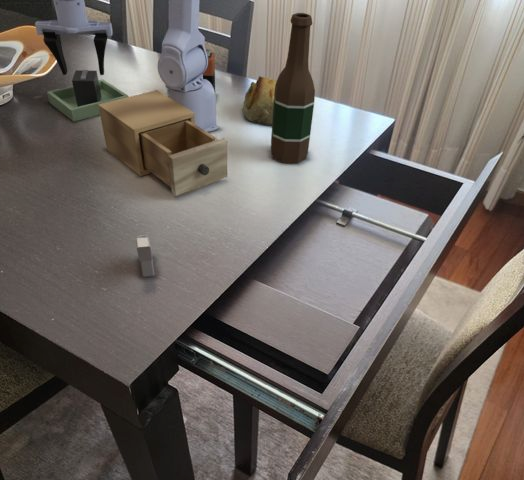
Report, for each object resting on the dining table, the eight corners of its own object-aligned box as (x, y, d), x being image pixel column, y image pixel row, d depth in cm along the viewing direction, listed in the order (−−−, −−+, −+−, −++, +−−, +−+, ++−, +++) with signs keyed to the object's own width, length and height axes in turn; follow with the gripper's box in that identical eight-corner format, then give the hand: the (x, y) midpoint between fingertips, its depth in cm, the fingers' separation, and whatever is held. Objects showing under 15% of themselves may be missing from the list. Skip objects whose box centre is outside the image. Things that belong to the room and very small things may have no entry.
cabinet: (196, 157, 95) (194, 112, 89) (140, 176, 90) (133, 129, 83) (161, 133, 101) (156, 89, 95) (106, 149, 96) (97, 104, 89)
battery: (213, 102, 113) (212, 54, 106) (184, 100, 113) (181, 52, 106) (215, 95, 116) (214, 47, 109) (187, 93, 116) (184, 45, 109)
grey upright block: (140, 259, 73) (133, 213, 67) (152, 258, 74) (145, 212, 68) (144, 290, 69) (136, 243, 63) (156, 289, 69) (149, 242, 63)
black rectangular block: (81, 96, 110) (75, 68, 106) (101, 96, 111) (96, 68, 106) (77, 107, 106) (71, 79, 102) (99, 107, 107) (93, 79, 102)
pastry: (230, 109, 111) (230, 70, 105) (276, 100, 116) (279, 63, 110) (262, 134, 104) (264, 94, 98) (310, 123, 108) (314, 85, 102)
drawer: (231, 179, 89) (231, 143, 84) (179, 199, 83) (176, 161, 78) (191, 152, 95) (189, 116, 90) (140, 169, 90) (135, 132, 84)
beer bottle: (312, 150, 100) (330, 12, 82) (301, 167, 95) (318, 24, 77) (276, 143, 101) (286, 5, 83) (264, 159, 96) (272, 17, 78)
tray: (105, 90, 115) (103, 79, 113) (130, 107, 109) (128, 95, 107) (49, 103, 109) (46, 91, 107) (73, 121, 103) (71, 110, 101)
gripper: (24, 1, 90) (45, 80, 100) (105, 3, 92) (117, 80, 102) (31, -9, 95) (50, 67, 105) (108, -7, 97) (119, 68, 107)
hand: (83, 73), depth 104 cm, fingers open, 7 cm apart
